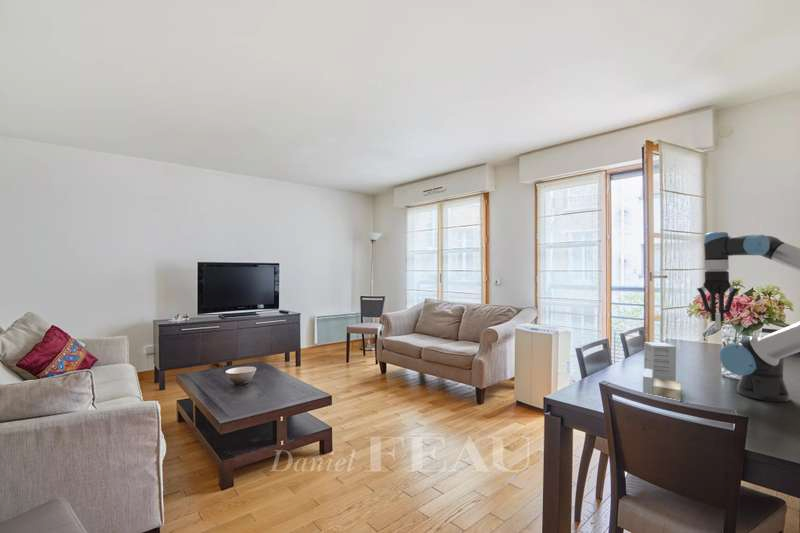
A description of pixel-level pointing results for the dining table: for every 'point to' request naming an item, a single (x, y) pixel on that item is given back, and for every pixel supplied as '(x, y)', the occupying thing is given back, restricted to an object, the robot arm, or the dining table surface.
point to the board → (647, 380)
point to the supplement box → (660, 360)
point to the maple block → (666, 388)
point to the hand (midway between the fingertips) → (717, 329)
